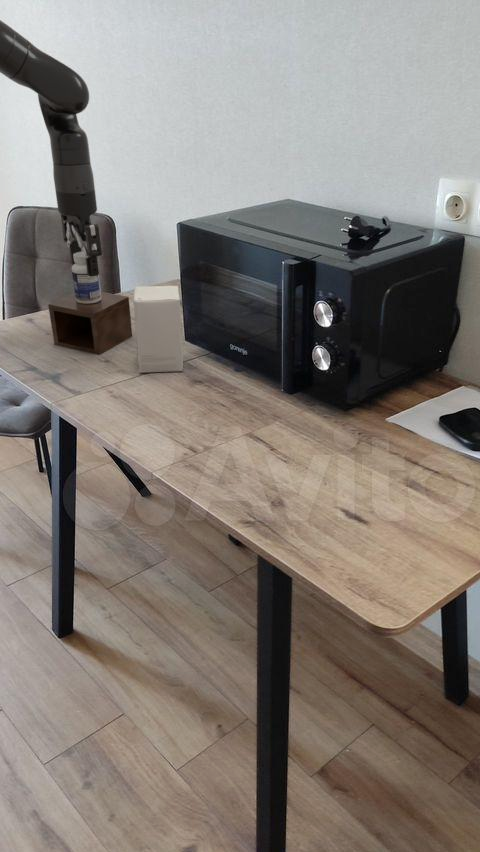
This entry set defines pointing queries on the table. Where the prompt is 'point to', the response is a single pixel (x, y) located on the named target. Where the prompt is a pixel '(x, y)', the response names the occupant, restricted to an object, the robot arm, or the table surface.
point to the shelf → (91, 322)
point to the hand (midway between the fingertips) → (85, 270)
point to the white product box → (158, 328)
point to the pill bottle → (84, 281)
